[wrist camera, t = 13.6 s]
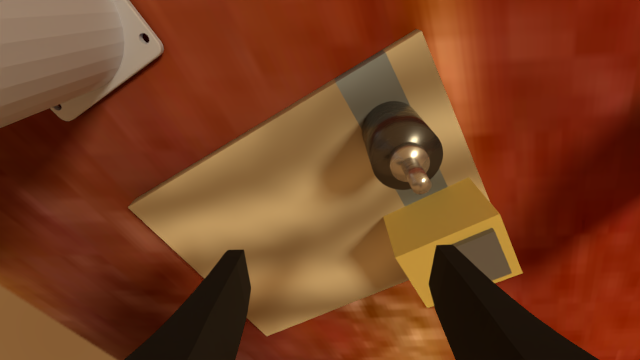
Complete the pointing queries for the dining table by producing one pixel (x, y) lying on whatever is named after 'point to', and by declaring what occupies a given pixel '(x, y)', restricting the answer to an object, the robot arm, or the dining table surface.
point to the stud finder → (451, 235)
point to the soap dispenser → (401, 147)
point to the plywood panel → (310, 192)
